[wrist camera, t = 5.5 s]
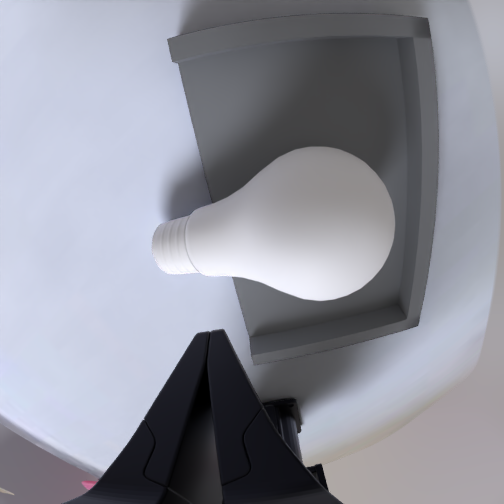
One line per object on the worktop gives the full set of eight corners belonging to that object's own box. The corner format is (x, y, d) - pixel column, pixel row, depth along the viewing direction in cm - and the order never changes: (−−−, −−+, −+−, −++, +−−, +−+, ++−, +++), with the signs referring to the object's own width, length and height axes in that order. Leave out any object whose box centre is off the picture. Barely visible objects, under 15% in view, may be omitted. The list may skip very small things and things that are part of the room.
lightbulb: (91, 254, 11) (407, 198, 8) (147, 166, 15) (371, 109, 12) (170, 336, 15) (406, 320, 12) (198, 248, 19) (387, 218, 16)
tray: (406, 306, 21) (417, 325, 19) (251, 342, 21) (254, 365, 19) (406, 21, 11) (427, 18, 9) (175, 43, 12) (167, 38, 10)
